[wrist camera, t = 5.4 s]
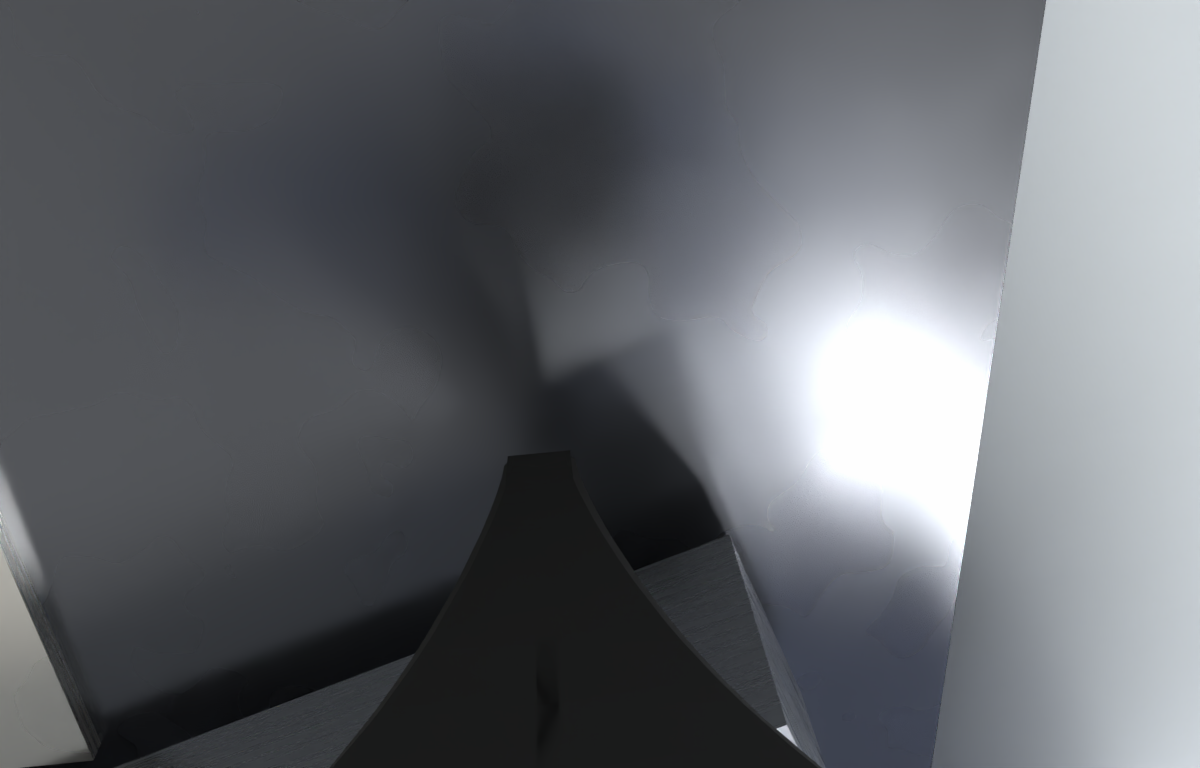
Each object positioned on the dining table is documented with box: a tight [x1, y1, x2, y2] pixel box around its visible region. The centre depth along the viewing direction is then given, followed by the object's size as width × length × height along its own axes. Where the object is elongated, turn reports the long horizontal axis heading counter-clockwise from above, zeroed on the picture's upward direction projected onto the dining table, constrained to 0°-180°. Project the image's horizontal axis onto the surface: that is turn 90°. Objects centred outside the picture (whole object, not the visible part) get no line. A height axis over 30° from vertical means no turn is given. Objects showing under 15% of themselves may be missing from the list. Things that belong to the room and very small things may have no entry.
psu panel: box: [0, 0, 1046, 768], centre depth 13 cm, size 17×20×1 cm
